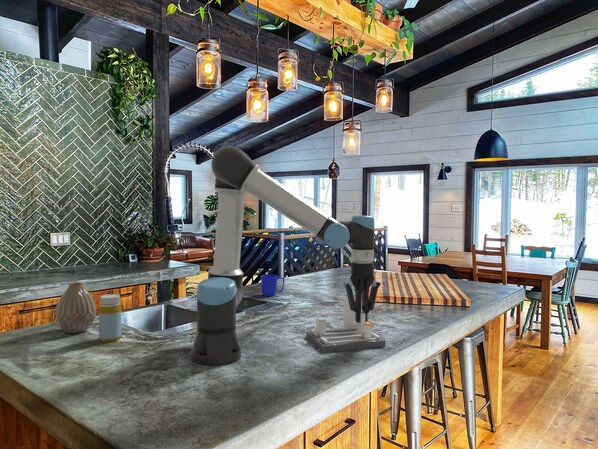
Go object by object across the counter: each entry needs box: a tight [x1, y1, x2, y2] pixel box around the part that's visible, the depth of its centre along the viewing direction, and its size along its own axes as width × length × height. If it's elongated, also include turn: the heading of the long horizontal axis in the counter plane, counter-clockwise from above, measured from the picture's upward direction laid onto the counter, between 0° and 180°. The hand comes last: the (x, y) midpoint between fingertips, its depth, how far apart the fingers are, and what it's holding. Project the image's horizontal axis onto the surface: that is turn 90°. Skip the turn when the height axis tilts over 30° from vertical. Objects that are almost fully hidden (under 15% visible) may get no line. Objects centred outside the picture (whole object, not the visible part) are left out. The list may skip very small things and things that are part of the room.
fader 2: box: [361, 320, 373, 339], centre depth 150 cm, size 2×3×5 cm
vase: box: [55, 281, 97, 334], centre depth 161 cm, size 13×13×18 cm
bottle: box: [98, 293, 123, 343], centre depth 151 cm, size 7×7×15 cm
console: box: [305, 327, 386, 353], centre depth 152 cm, size 22×18×3 cm
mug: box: [260, 274, 285, 297], centre depth 227 cm, size 8×12×10 cm
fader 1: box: [315, 317, 327, 334], centre depth 154 cm, size 2×3×5 cm
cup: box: [342, 294, 362, 328], centre depth 166 cm, size 9×9×12 cm
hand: (361, 331), depth 149 cm, fingers closed
